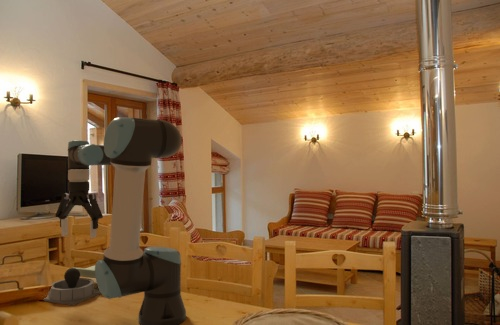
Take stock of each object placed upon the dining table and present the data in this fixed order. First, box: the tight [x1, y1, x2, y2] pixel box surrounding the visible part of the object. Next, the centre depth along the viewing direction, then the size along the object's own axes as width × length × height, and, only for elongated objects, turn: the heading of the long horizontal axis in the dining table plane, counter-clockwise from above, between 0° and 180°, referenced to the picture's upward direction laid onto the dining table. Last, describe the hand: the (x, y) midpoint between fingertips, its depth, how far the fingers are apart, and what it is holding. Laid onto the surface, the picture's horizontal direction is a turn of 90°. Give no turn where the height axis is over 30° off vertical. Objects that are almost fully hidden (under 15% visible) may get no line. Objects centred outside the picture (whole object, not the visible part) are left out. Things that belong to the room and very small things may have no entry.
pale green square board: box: [72, 264, 96, 279], centre depth 173 cm, size 16×16×3 cm
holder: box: [43, 277, 102, 306], centre depth 157 cm, size 16×16×5 cm
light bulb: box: [63, 267, 81, 289], centre depth 157 cm, size 6×6×10 cm
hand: (78, 236), depth 157 cm, fingers open, 13 cm apart
